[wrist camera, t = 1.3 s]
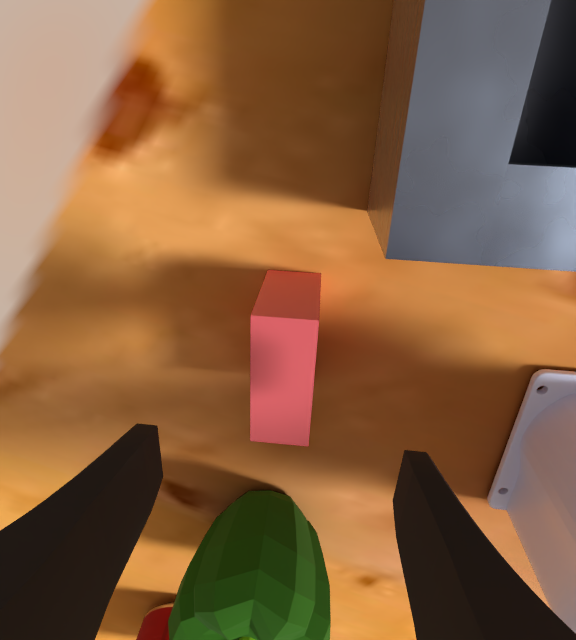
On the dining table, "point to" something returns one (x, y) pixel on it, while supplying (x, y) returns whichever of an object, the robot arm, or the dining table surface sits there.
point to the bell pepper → (255, 576)
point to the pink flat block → (284, 357)
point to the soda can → (156, 623)
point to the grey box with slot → (478, 134)
